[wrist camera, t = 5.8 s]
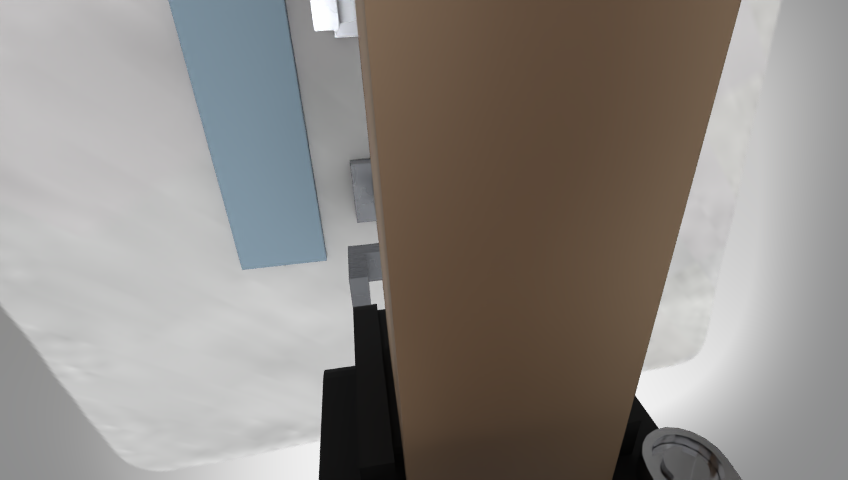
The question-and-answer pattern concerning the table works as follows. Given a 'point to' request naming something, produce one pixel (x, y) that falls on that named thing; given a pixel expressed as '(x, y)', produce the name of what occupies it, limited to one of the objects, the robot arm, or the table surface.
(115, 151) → the table surface
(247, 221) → the mat
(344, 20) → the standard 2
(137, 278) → the table surface
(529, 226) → the rail
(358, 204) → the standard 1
